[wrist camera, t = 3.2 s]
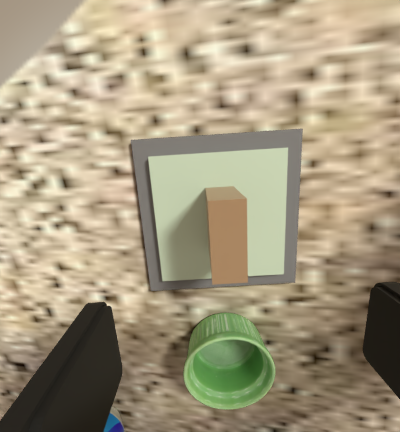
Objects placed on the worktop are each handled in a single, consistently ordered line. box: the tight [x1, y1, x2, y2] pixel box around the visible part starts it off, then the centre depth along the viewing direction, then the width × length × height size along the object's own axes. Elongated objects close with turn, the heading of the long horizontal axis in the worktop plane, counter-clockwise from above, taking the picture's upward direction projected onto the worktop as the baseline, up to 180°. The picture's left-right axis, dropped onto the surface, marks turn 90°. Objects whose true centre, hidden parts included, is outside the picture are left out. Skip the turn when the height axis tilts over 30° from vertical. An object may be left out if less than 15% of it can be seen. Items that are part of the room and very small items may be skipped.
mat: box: [131, 129, 303, 291], centre depth 22 cm, size 15×15×1 cm
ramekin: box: [183, 313, 275, 410], centre depth 24 cm, size 9×9×4 cm
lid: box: [148, 148, 288, 285], centre depth 19 cm, size 12×12×7 cm
